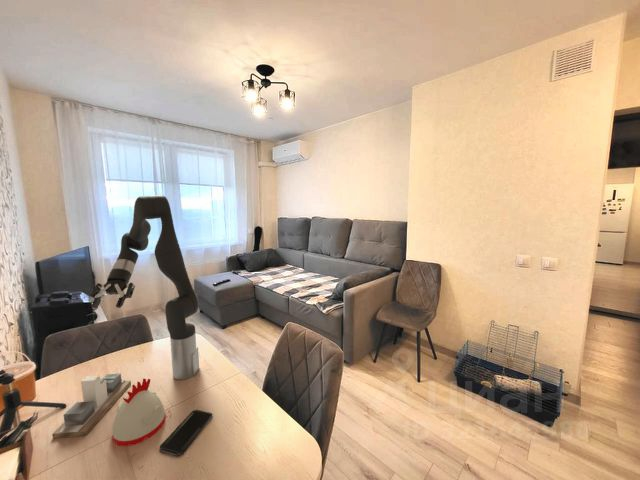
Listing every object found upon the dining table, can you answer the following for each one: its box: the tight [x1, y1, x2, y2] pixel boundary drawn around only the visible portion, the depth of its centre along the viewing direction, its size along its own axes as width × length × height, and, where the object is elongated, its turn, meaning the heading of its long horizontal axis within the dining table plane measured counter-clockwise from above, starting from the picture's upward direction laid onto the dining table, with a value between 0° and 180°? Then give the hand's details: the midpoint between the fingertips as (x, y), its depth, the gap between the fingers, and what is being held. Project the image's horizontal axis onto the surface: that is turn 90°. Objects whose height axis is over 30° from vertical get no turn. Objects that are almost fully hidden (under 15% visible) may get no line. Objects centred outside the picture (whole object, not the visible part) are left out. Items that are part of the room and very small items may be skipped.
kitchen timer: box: [111, 378, 167, 447], centre depth 82 cm, size 14×14×15 cm
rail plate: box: [51, 373, 132, 439], centre depth 89 cm, size 9×23×6 cm, turn 7°
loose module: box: [80, 375, 108, 408], centre depth 89 cm, size 4×5×10 cm
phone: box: [158, 409, 213, 458], centre depth 81 cm, size 8×1×15 cm
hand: (106, 307), depth 103 cm, fingers open, 8 cm apart
